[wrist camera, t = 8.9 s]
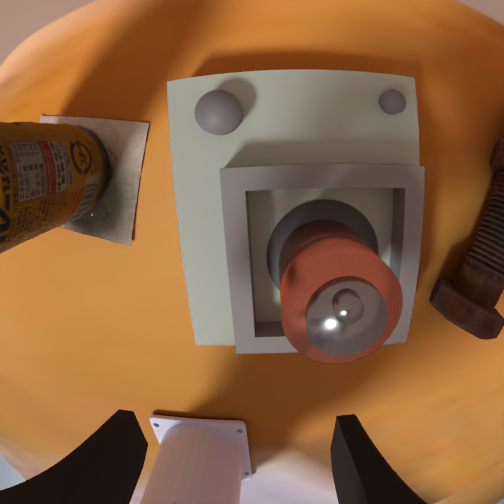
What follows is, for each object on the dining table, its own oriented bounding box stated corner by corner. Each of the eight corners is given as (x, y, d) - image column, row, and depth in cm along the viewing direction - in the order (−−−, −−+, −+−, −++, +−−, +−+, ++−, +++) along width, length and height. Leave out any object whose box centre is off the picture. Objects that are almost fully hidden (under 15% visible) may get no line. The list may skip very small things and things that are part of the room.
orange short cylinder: (370, 292, 15) (415, 366, 10) (288, 311, 16) (295, 396, 10) (359, 210, 14) (414, 251, 8) (268, 230, 15) (267, 286, 9)
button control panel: (390, 314, 19) (412, 348, 15) (203, 322, 20) (190, 360, 16) (396, 85, 14) (427, 71, 11) (180, 90, 15) (156, 74, 11)
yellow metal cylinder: (42, 115, 16) (-107, 120, 4) (150, 123, 16) (-17, 103, 5) (32, 219, 18) (-100, 281, 7) (132, 244, 18) (-3, 355, 7)
